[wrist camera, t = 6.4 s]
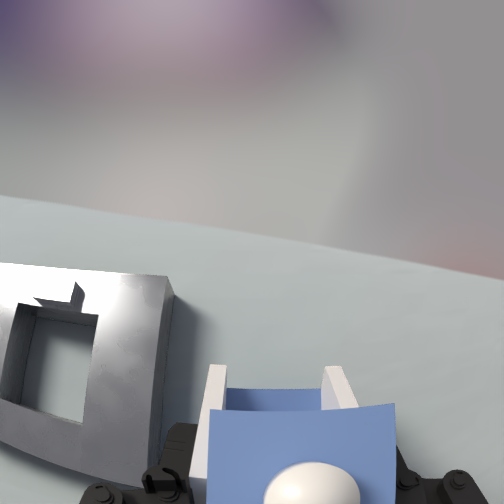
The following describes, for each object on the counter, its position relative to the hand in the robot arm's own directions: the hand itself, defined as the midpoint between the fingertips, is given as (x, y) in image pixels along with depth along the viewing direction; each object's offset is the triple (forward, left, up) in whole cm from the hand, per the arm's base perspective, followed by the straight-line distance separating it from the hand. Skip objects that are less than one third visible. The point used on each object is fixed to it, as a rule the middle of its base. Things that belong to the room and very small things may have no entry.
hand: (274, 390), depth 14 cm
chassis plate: (+13, 0, -3) cm, 14 cm away
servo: (0, +4, -3) cm, 5 cm away
